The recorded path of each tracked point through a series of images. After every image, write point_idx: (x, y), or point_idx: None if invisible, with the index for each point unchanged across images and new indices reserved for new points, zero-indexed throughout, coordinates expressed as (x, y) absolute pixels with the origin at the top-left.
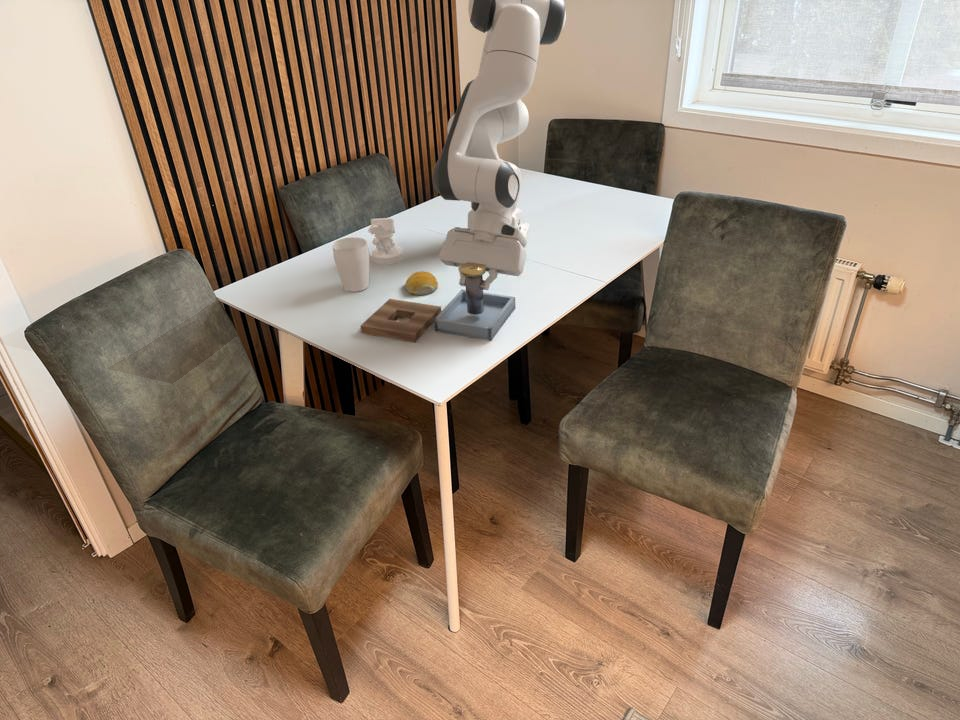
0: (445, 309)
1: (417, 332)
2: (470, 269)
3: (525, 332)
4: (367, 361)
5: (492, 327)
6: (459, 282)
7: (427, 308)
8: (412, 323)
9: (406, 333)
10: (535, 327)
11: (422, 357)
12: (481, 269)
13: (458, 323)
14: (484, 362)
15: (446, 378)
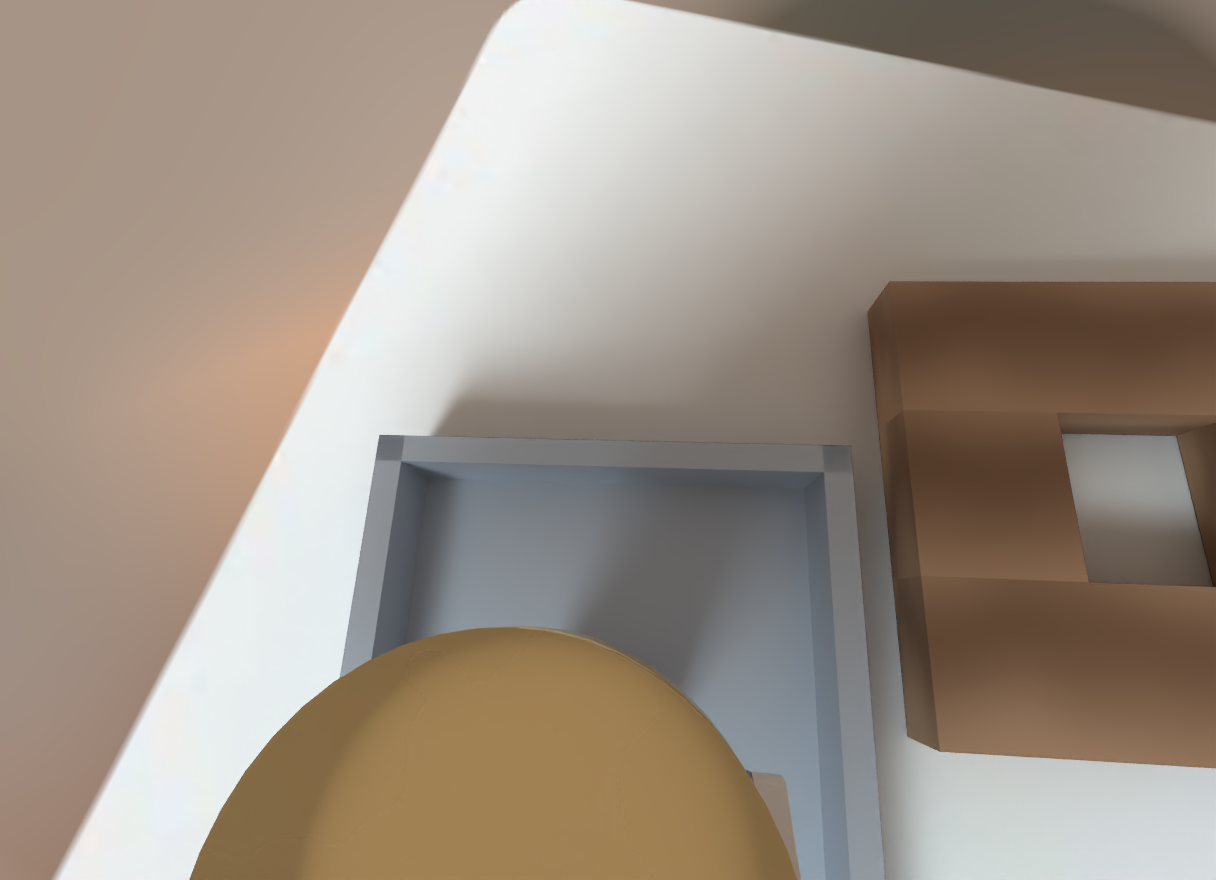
0: (846, 639)
1: (891, 323)
2: (498, 771)
3: (217, 622)
4: (1010, 88)
5: (376, 465)
6: (778, 781)
7: (1036, 681)
8: (999, 413)
9: (953, 282)
10: (153, 712)
11: (744, 196)
12: (239, 846)
13: (637, 444)
14: (402, 247)
15: (545, 87)
